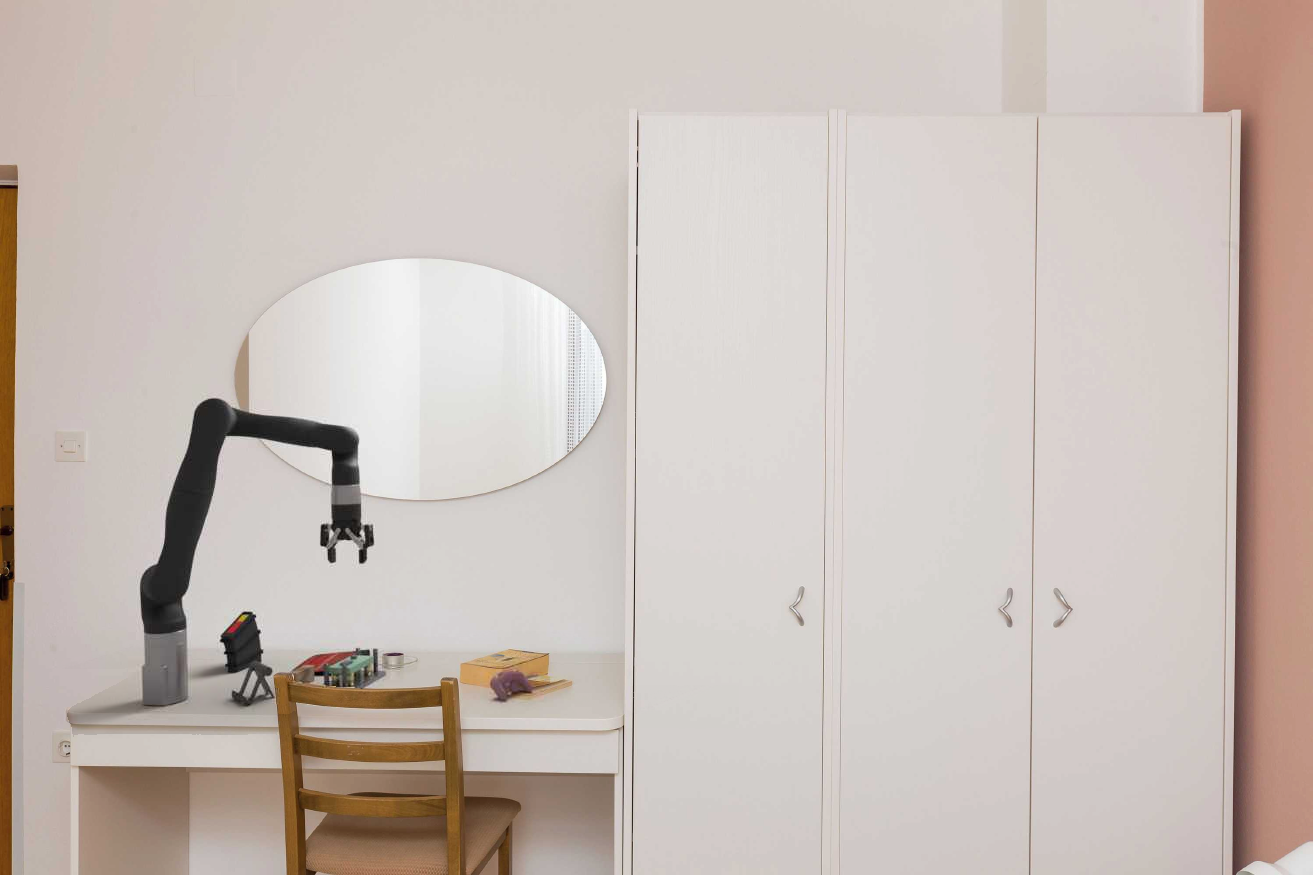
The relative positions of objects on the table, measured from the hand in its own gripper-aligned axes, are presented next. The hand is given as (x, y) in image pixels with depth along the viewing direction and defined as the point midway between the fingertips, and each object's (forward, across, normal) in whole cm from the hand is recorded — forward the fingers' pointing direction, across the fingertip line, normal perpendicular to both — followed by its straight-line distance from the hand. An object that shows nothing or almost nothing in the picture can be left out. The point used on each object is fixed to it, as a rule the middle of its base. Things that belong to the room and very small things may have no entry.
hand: (347, 562), depth 244 cm
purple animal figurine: (+30, +48, -9) cm, 58 cm away
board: (+26, +4, -6) cm, 27 cm away
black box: (+30, -34, +3) cm, 46 cm away
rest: (+30, -8, -9) cm, 33 cm away
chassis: (+30, +4, -6) cm, 31 cm away
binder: (+31, -11, +9) cm, 34 cm away
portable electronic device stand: (+30, -13, -22) cm, 40 cm away
